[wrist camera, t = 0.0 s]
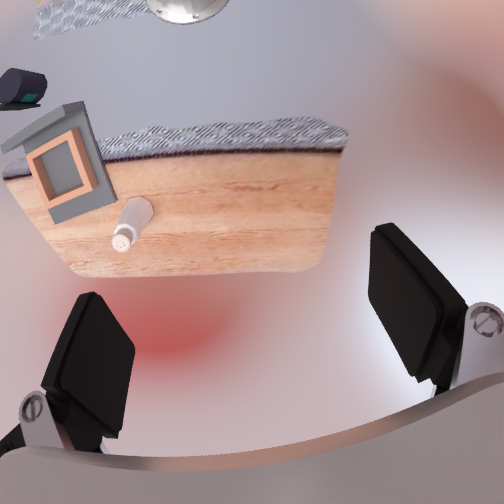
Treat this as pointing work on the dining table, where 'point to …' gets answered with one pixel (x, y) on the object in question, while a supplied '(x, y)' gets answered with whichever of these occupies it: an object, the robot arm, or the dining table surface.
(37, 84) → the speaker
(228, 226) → the dining table surface
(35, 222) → the dining table surface
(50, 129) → the gray walled base stand
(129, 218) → the salt shaker
